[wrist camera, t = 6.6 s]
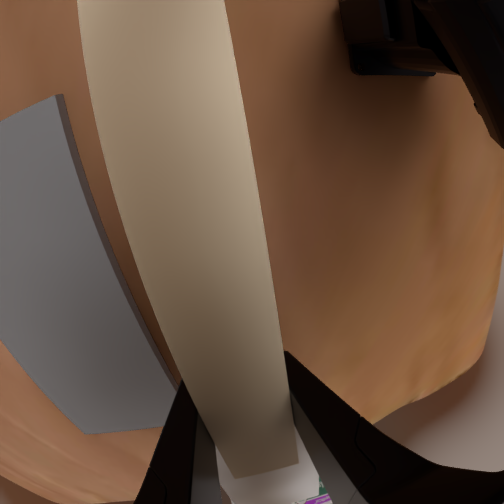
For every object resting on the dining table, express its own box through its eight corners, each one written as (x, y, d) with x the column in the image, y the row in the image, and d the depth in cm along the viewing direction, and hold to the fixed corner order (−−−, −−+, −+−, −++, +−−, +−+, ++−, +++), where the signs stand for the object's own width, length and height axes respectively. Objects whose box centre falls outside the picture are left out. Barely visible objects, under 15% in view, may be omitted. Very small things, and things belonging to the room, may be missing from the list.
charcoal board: (62, 93, 13) (55, 95, 12) (192, 410, 28) (193, 421, 27) (-73, 170, 12) (-83, 175, 11) (86, 425, 27) (85, 434, 26)
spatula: (257, 4, 6) (290, -39, 4) (314, 483, 17) (327, 516, 14) (63, 49, 6) (13, 27, 3) (239, 502, 16) (248, 537, 14)
